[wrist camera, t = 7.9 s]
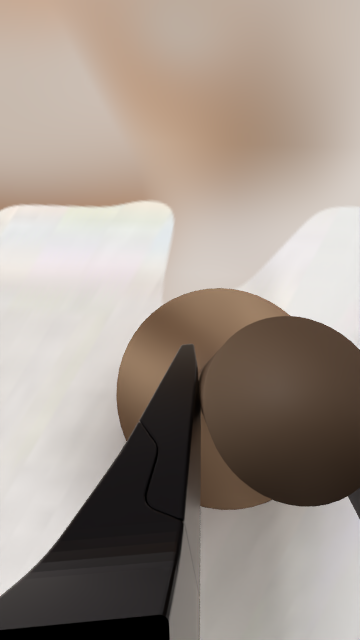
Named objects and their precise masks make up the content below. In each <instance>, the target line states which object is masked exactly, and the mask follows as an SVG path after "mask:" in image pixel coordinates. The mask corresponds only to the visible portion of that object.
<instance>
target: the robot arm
mask: <svg viewBox="0 0 360 640" xmlns="http://www.w3.org/2000/svg"><path fill="white" fill-rule="evenodd" d="M200 494H201V407H200V401H199V380H198V367H197V360H196V354H195V348H194V345H193V344H184V345H181V347H180V348H179V350H178V352H177V354H176V355H175V357H174V359H173V361H172V363H171V364H170V366H169V368H168V370H167V371H166V373H165V375H164V377H163V379H162V380H161V382H160V384H159V386H158V387H157V389H156V391H155V393H154V395H153V396H152V398H151V400H150V402H149V404H148V405H147V407H146V409H145V411H144V412H143V414H142V416H141V418H140V420H139V422H138V423H137V425H136V426H135V428H134V430H133V432H132V434H131V435H130V437H129V439H128V440H127V442H126V444H125V445H124V447H123V449H122V450H121V452H120V453H119V455H118V456H117V458H116V459H115V461H114V462H113V464H112V465H111V467H110V468H109V469H108V471H107V472H106V474H105V475H104V477H103V478H102V479H101V481H100V482H99V484H98V485H97V486H96V488H95V489H94V491H93V492H92V493H91V495H90V496H89V498H88V499H87V500H86V502H85V503H84V505H83V506H82V507H81V509H80V510H79V512H78V513H77V514H76V516H75V517H74V519H73V520H72V521H71V523H70V524H69V526H68V527H67V528H66V530H65V531H64V532H63V534H62V535H61V537H60V538H59V539H58V541H57V542H56V543H55V544H54V545H53V547H52V548H51V549H50V550H49V551H48V553H47V554H46V555H45V556H44V557H43V558H42V559H41V560H40V561H39V562H38V563H37V564H36V565H35V566H34V567H33V568H32V569H31V570H30V571H29V572H28V573H27V574H26V575H25V576H24V577H23V578H22V579H20V580H19V581H18V582H17V583H16V584H14V585H13V586H12V587H11V588H10V589H8V590H7V591H6V592H5V593H4V594H2V595H1V596H0V640H200V599H199V596H200ZM348 497H349V499H350V501H351V503H352V505H353V507H354V509H355V511H356V513H357V515H358V517H359V518H360V488H359V489H357V490H356V491H355V492H353V493H352V494H351V495H349V496H348Z"/></svg>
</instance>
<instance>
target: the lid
mask: <svg viewBox="0 0 360 640" xmlns="http://www.w3.org/2000/svg"><path fill="white" fill-rule="evenodd" d="M184 344H193V345H194V348H195V354H196V360H197V367H198V380H199V401H200V407H201V494H200V506H203V507H206V508H213V509H220V510H235V509H243V508H249V507H254V506H257V505H260V504H263V503H266V502H268V501H270V500H275V501H278V502H281V503H285V504H288V505H295V506H320V505H326V504H330V503H333V502H336V501H339V500H341V499H343V498H345V497H347V496H349V495H351V494H352V493H353V492H355V491H356V490H357V489H359V488H360V350H359V349H358V348H357V347H356V346H355V345H354V344H353V343H352V342H351V341H350V340H348V339H347V338H346V337H345V336H343V335H342V334H340V333H339V332H337V331H336V330H334V329H332V328H330V327H328V326H326V325H324V324H322V323H319V322H316V321H313V320H310V319H306V318H301V317H293V316H290V315H289V314H287V313H286V312H285V311H283V310H282V309H281V308H279V307H278V306H276V305H275V304H273V303H271V302H270V301H268V300H266V299H263V298H261V297H259V296H257V295H254V294H251V293H248V292H244V291H239V290H234V289H223V288H217V289H205V290H199V291H194V292H190V293H187V294H184V295H182V296H179V297H177V298H175V299H172V300H171V301H169V302H167V303H166V304H164V305H162V306H161V307H160V308H158V309H157V310H156V311H155V312H153V313H152V314H151V315H150V316H149V317H148V318H147V319H146V320H145V321H144V322H143V323H142V324H141V326H140V327H139V328H138V330H137V331H136V332H135V334H134V335H133V337H132V339H131V340H130V342H129V344H128V346H127V348H126V351H125V353H124V355H123V358H122V362H121V365H120V369H119V374H118V380H117V408H118V415H119V419H120V424H121V428H122V430H123V433H124V436H125V439H126V441H127V440H128V439H129V437H130V435H131V434H132V432H133V430H134V428H135V426H136V425H137V423H138V422H139V420H140V418H141V416H142V414H143V412H144V411H145V409H146V407H147V405H148V404H149V402H150V400H151V398H152V396H153V395H154V393H155V391H156V389H157V387H158V386H159V384H160V382H161V380H162V379H163V377H164V375H165V373H166V371H167V370H168V368H169V366H170V364H171V363H172V361H173V359H174V357H175V355H176V354H177V352H178V350H179V348H180V347H181V345H184Z"/></svg>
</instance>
